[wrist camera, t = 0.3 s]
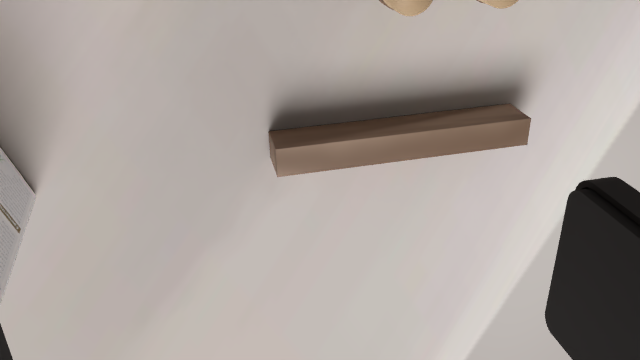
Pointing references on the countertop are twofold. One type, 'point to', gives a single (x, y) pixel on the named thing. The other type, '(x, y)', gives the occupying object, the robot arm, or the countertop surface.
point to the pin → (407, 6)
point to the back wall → (396, 139)
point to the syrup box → (12, 216)
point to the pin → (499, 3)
